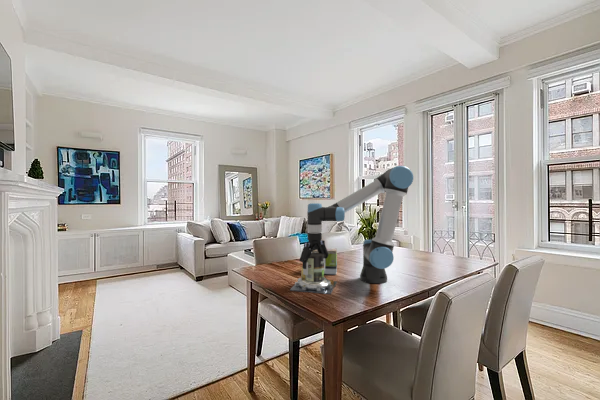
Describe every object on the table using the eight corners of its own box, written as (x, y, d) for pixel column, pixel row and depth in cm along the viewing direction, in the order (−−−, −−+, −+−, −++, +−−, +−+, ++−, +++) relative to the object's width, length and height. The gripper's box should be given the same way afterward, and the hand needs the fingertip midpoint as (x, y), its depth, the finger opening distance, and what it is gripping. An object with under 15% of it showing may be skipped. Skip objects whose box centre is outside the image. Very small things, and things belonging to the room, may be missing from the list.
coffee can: (325, 278, 161) (325, 252, 161) (323, 284, 151) (322, 256, 151) (306, 277, 163) (306, 252, 163) (303, 283, 153) (303, 255, 153)
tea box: (337, 271, 189) (337, 248, 189) (336, 275, 180) (336, 250, 179) (313, 270, 192) (313, 247, 192) (311, 274, 182) (311, 250, 182)
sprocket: (309, 277, 171) (309, 262, 171) (340, 283, 159) (340, 267, 159) (287, 286, 154) (287, 269, 154) (321, 293, 143) (321, 275, 142)
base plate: (336, 282, 164) (336, 281, 164) (330, 294, 144) (330, 293, 144) (300, 279, 170) (300, 278, 170) (289, 290, 150) (289, 289, 149)
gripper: (324, 230, 168) (324, 267, 168) (292, 233, 150) (292, 275, 151) (334, 231, 163) (334, 269, 163) (303, 235, 145) (303, 278, 145)
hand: (314, 272), depth 157 cm, fingers open, 13 cm apart
